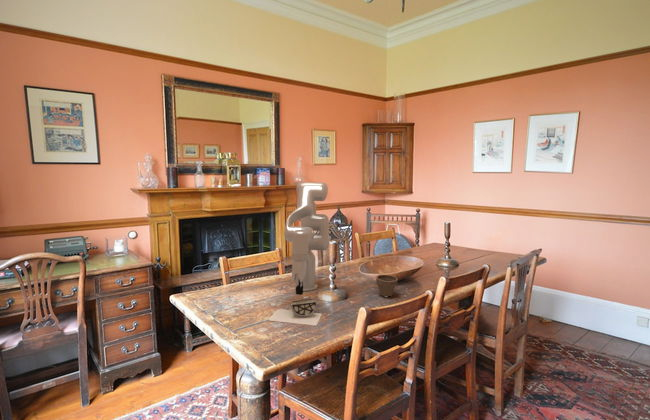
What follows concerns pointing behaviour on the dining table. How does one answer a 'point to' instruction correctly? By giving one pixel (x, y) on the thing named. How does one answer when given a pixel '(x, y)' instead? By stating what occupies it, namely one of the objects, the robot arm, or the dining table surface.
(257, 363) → the dining table surface
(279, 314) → the mat
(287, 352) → the dining table surface
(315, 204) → the robot arm
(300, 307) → the food container
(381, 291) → the flower pot
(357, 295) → the dining table surface
